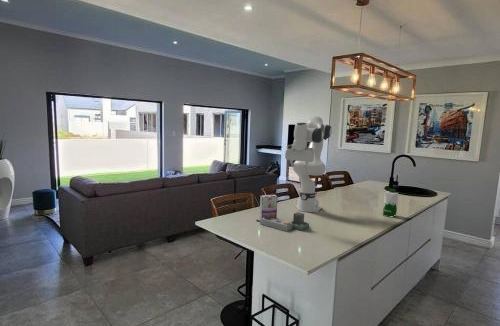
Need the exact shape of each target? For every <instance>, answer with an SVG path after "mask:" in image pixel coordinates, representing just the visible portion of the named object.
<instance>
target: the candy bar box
mask: <svg viewBox="0 0 500 326" xmlns="http://www.w3.org/2000/svg"><path fill="white" fill-rule="evenodd" d="M259 200H260V201H259V205H260V206H259V220H260V219H261V218H264V216H265V215H270V216H271V218H274V219H278V218H277V217H278V216H277V214H278V195H276V194H262V195H260V199H259Z"/></svg>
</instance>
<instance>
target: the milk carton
mask: <svg viewBox="0 0 500 326" xmlns="http://www.w3.org/2000/svg"><path fill="white" fill-rule="evenodd" d="M383 196H384V200H383V209H382V210H383V211H382V216H384V215H388V216H394V215H396V216H397V211H398V210H397V209H398V201H399V192H396V189H394V188H390V189H389V190H387V191H385V192H384V195H383ZM388 216H387V217H388ZM394 217H395V216H394Z"/></svg>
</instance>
